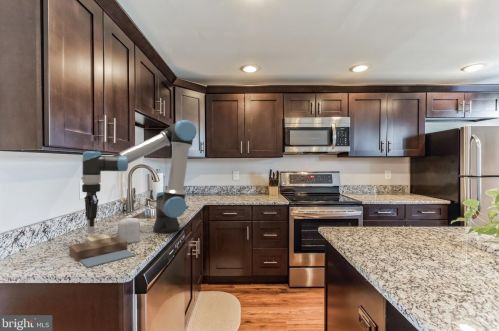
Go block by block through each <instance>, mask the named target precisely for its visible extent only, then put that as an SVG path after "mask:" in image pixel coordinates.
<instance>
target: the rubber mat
mask: <svg viewBox="0 0 499 331" xmlns="http://www.w3.org/2000/svg"><path fill="white" fill-rule="evenodd" d="M133 257H136V256H135V254H133V253H132V252H130V251H128V249H127V250H122V251H118V252H113V253H109V254H104V255H100V256H96V257H91V258H87V259H83V260H80V261H79V262H80V263H82V265H83V266H85V267H86V268H87V269H89V268H93V267H97V266H101V265H105V264H110V263H113V262H116V261H117V262H119V261H121V260H125V259H129V258H133Z"/></svg>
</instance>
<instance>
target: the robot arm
mask: <svg viewBox="0 0 499 331" xmlns="http://www.w3.org/2000/svg"><path fill="white" fill-rule="evenodd" d="M196 136H197V127H196V125H195V124H194V123H193V122H191V121H190V120H187V119H182V120H179V121H177V122H175V123H173V124H171V125H170V126H169V127H167V128H165V129H164V130H161V131H160V132H159V134H156V135H155V136H153V137H150V138H148V139H146V140H144V141H142V142H139V143H138V144H135V145H133V146H131V147H129V148H126V149H125V150H122V151H120V152H118V153H116V154H114V155H102V153H101V151H89V150H87V151H84V152H83V153H82V162H81V163H82V176H81V177H80V179H82V185H81V191H82V193H86V195H85V197H84V198H83V199H84V207H85V208H84V209H85V218H86V220H87V224H86V227H87V228H86V233H87V234H94V233H95V224H96V223H95V220H96V219H97V213H98V204H99V200H100V199H99V198H98V195H97V193H99V192H101V184H100V183H101V181H102V180H101V177H102V174H101V172H127V171H128V168H129V164H131V163H134V162H135V161H137V160H140V159H141V158H143V157H145V156H148V155H149V154H152V153H153V152H156V151H157V150H160V149H162V148H164V147H166V146H167V147H170V146H172V154H171V160H170V161H171V162H170V168H169V175H168V182H167V189H165V190H164V191H162V192H161V191H160V192H157V193H156V197H155V201H156V202H155V203H156V205H155V206H156V207H155V208H156V211H155V213H156V214H155V217H156V218H155V221H154V223H153V227H152V229H153V230H152V231H153V232H154V233H156V234H169V233H170V232H171V233H175V232H178V231H180V223H179V220H178V218H179V217H181V216H183V215H184V213H185V212H186V210H187V203H186V200H185V199H186V192H185V191H184V187H185V179H186V173H187V172H186V171H187V164H188V158H189V157H188V156H189V152H190V151H189V149H190V148H191V147H193V142H194V139H195V138H196Z"/></svg>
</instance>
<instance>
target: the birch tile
mask: <svg viewBox="0 0 499 331" xmlns="http://www.w3.org/2000/svg"><path fill="white" fill-rule="evenodd" d="M111 237H112V236H109V235H108V234H105V233H103V234H97V235H93V236H92V235H91V236H87V237H85V242H86V243H87V244H88V245H89V246H91V247H93V246H98V245H103V244H108V243H111Z"/></svg>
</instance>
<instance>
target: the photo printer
mask: <svg viewBox="0 0 499 331" xmlns="http://www.w3.org/2000/svg"><path fill="white" fill-rule="evenodd" d="M140 229H141V222H140V219H139V218H135V217H127V218H123V219H119V220H118V223H117V236H118V237H120V238H122V239H123V240H125V241H127V244H131V243H139V242H140V237H141V236H140V235H141V230H140Z"/></svg>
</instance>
